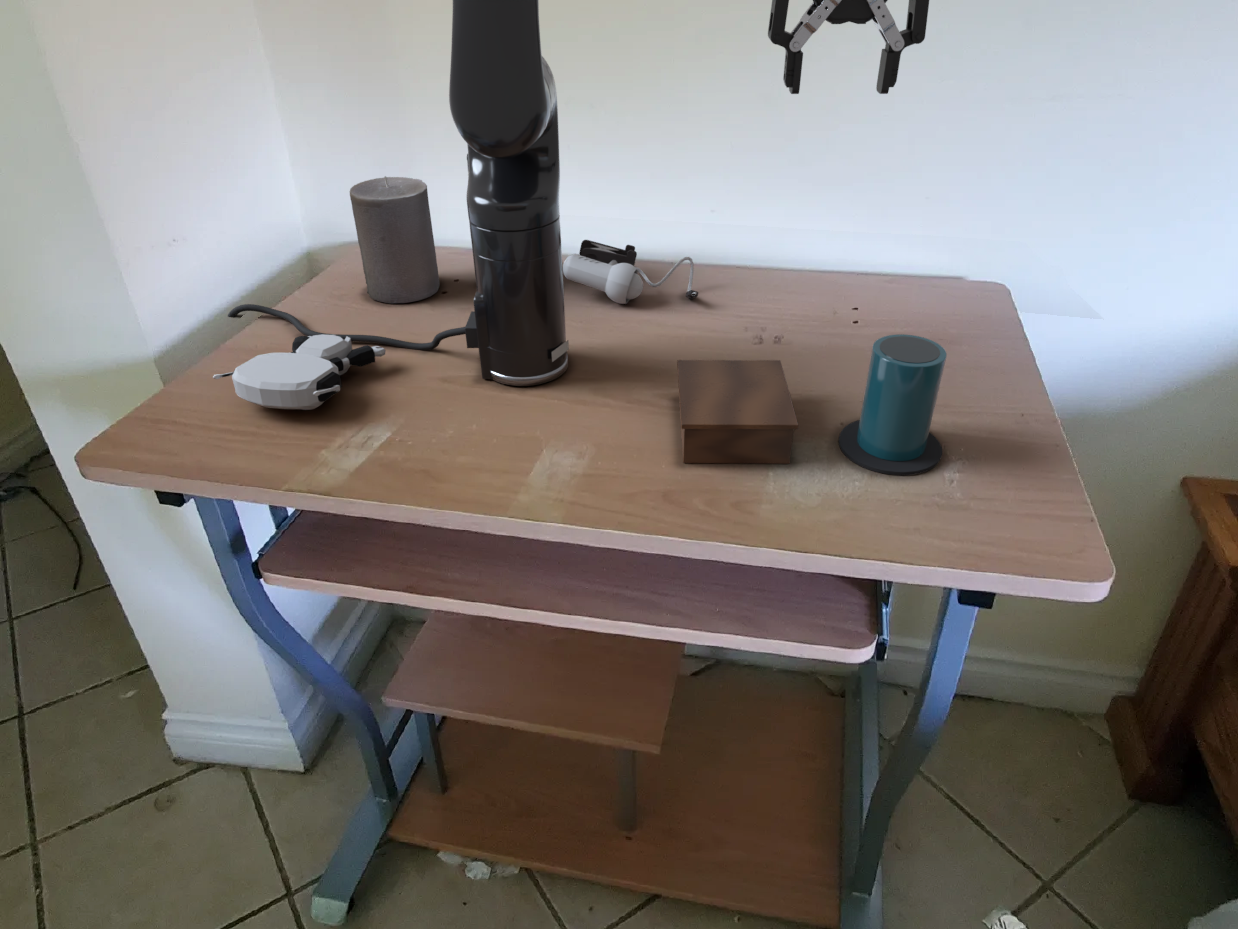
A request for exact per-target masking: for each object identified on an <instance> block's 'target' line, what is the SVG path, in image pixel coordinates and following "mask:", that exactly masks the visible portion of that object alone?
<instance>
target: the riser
mask: <svg viewBox="0 0 1238 929" xmlns="http://www.w3.org/2000/svg"><path fill="white" fill-rule="evenodd" d="M676 367H677V368H676V369H677V381H678V382H677V383H678V403H679V404H678V405H679V419H680V433H681V449H682V463H683V464H778V465H779V464H780V465H783V464H785V465H786V464H790V462H791V455H792V447H793V440H794V431H795V430H798V429H799V423H798V419H797V414H796V412H795V409H794V404H793V401H792V397H791V394H790V391H789V390H790V389H789V387H788V383H787V380H786V376H785V372H784V368H783V364H782V360H780V359H776V360H775V359H768V360H766V359H763V360H762V359H760V360H759V359H678V360H677V361H676Z"/></svg>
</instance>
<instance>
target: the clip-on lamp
mask: <svg viewBox="0 0 1238 929" xmlns="http://www.w3.org/2000/svg"><path fill="white" fill-rule="evenodd" d="M578 253H579V254H577V253H573V254H569V255H568V256H567V257H566V259H565V260H564V261H563V263H562V270H563V276H564V277H565V278H566V280H569V281H572V282H575V283H578V284H581V285H584V286H587V287H589V288H593V289H596V290H598V291H601V292H604V293H605V294H606V296H607V297H608V298H609V299H610V300H611V301H613V302H614V303H617V304H619V305H621V304H622V305H624V304H625V305H626V304H628V303H629V301H630V300H633V299H636V298H638V297H639V296H640V295H641V294H642V292H643V290H644V282H643V279H644V281H645V282H646V283H647V284H648V285H649V286H650V287H652V288H658V287H660V286H662V285H663V284H664V283H665V282H666V281H667V280H668V279H669V278H670V276H672V274H673V273H674V272H675V270H676V269H677V268H678V267H680V265H681V264H683V262H686V261H689V264H690V271H689V278H688V279H689V280H688V283H687V284H688V285H687V290H686V293H685V298H687V299H688V300H693V299H696V298H697V297H698V296H699V292H698V291H696V290H693V289H692V287H693V279H694V271H695V270H694V269H695V268H694V261H693V258H691V256H685V257H682V258H681V259H680V260H678V261H677V262H676V264H674V265H673V267H672V268H671V269H670V270H669V271H668V272H667V273H666V274H665V276H664V277H663V278H661V280H660V281H658V282H657V283H653V282H652V281H651V280H650V279H649V278H648V276H647V275H646V274H645V272H644V271H643V270H642V269H641V268H639V266H638V267H637V266H635V264H636V260H637V255H638V254H637V251H636V247H635V245H631V244H627V245H625V249H622V248H619V247H615V246H611V245H608V244H604V243H601V242H597V241H593V240H590V239H584V240H582V242H581V244H580V249H579V252H578ZM639 274H640V275H641V276H640V275H639ZM641 277H642V278H643V279H642V278H641Z"/></svg>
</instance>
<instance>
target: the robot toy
mask: <svg viewBox="0 0 1238 929" xmlns="http://www.w3.org/2000/svg"><path fill="white" fill-rule="evenodd" d="M326 334H327V333H326ZM326 334H322V335H314V336H306V335H299V336H296V337H295V338H294V340H293V341H292V344H291V351H290V352H269V353H262V354H257V355H256V356H253V357H252V358H251V359H249V360H247V361H245V362H243V363H242V364H240V365H238V366H236V367H235V369H234V370H233V371H231V372H226V373H221V374H213V376H212V378H213V379H214V380H219V379H221V378H226V377H231V379H232V383H233V387H234V392H235V394H236V395H237V396H238V397H239V398H240V399H242V400H244V401H246V402H249V403H251V404H254V405H257V406H260V407H264V408H267V409H268V408H269V409H280V410H302V411H311V410H315V409H317V408H318V407H320V406H322V405H323V403H324V402H326V401H328V400H329V399H330V398H332V397H333V396H335V395H336V394H337V393H339V392H340V391H341V389H342V387H343V386H342V380H341V376H342V375H344V374H345V373H347V372H348V371H349V369H350V367H351V366H355V367H364V366H367V365H370V364H374V363H376V358H381V357H383V356H385V355H386V348H384V347H382V346H379V345H373V346H370V345H368V344H367V345H362V346H359V347H355V348H353V344H352V342H351V338H349V337H347V336H346V338H345V337H342V336H336V335H326Z"/></svg>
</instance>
